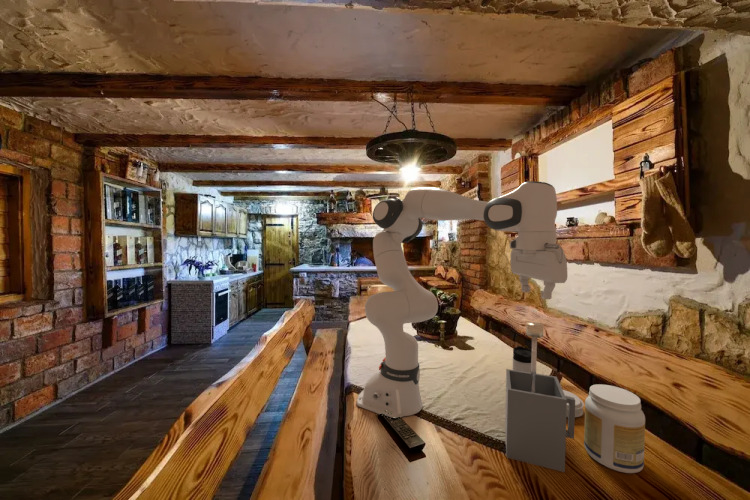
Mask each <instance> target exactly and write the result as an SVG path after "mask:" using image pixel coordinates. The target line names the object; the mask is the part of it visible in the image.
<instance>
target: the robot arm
mask: <svg viewBox="0 0 750 500" xmlns="http://www.w3.org/2000/svg"><path fill="white" fill-rule="evenodd" d="M557 202H558V200H557V191H556V189H555V186H553V184H551V183H548V182H544V181H543V182H542V181H535V180H534V181H533V180H531V181H525V182H523V183H521V184H520V185H519V186H518V187H517V188H515V189H514V190H512V191H510V192H508V193H506V194H503V195H501V196H499V197H495V198H493V199H490V200H489V201H485V200H484V201H483V200H479V199H478V200H477V199H473V198H470V197H467V196H465V195H462V194H460V193H457V192H454V191H450V190H448V189H444V188H438V187H431V186H430V187H429V186H428V187H424V186H423V187H416V188H412V189H410V190H408V192H407V193H406V194H405V196H404V198H403V199H401V198H400V197H398V196H395V197H393V198H386V199H383V200H381V201H379V202H378V203H377V204H376V205H375V207H374V209H373V211H372V220H373V222H374V223H375V224H376V225H377V226H378V227H379V228H380V229H383V230H382V231H380V232H378V233H377V234H376V235H374V237H373V239H372V251H373V252H372V253H373V258H374V262H375V267H376V272H377V276H378V279H379V281H380V282H381V283H382V284H383V285H385V286H387V287H388V288H390V289H392V290H394V291H382V292H378V293H375V294H370V295H369V296H368V298H367V299H366V301H365V304H364V314H365V316H366V318H367V320H368V322H369V323H370V324H371V325H373V326H375V327H376V328H377V329H378V330H379V332H380V334H381V336H382V338H383V341H384V349H385V353H384V358H383V359H382V362H381V363H380V365H379V366H378V372H377V373H375V374H373V375H372V376H370V377H369V378H368V380H367V381H366V383H365V385H364V388H363V390H362V391H360V392H359V394H358V395H357V398H356V405H357V407H359V408H363V409H365V410H368V411H371V412H373V413H376V414H377V415H380V414H381V413H383V414H386V415H388V416H391V417H400V418H402V417H408V416H412V415H416V414H418V413H419V412H420V411H421V410H422V409H423V405H424V404H423V400H422V397H421V392H420V391H421V390H420V382H419V381H420V379H421V377H420V375H421V373H420V372H421V371H420V363H419V343H418V340H417V339H416V337H415V336H413V335H412V334H410V333H408V332H406V331H405V330H404V325H405V324H414V323H422V322H426V321H429V320H431V319H434V318H435V317H436V314H437V313H438V311H439V310H438V309H439V303H438V299H437V297H436V296H435V294H434V293H433V292H432V291H430V290H428V289H426V288H424V287H423V286H422V285H421V284H420V283H419V282H418V281H417V280H416V279H415V277H414V276H413V274H412V273H411V271H410V269H409V267H408V266H409V265H408V263H407V260H406V257H405V254H404V251H403V247H402V244H407V243H409V242H410V241H412V240H414V239H415V238H417V237H418V236H419V235H420V233H421V232H422V230H423V226H424V225H423V221H422V219H425V220H430V221H438V222H439V221H443V222H444V221H456V220H458V221H459V220H477V221H483V222H484V223H485V224H486V226H487V227H489V228H490V229H491V230H494V231H498V232H513V233H517V234H518V236H516V237H515V238H514V239H513V240H510V242H509V249H511V252H510V270H511V272H512V274H514V275H517V276H519V277H518V278H519V283H520V285H521V291H522V292H523V293H530V292H531V285H530V284H529V279H534V280H539V281H542V282H543V286H544V288H543V290H542V291H540V294H541V295H540V298H542V299H544V300H551V299H552V298H553V297H552V295H553V291H554V290H555V287H556V284H565V283H566V282H567V280H568V263H567V256H566V253H565V252H564V248H562V246H561V245H560V244H559V243H557V228H556V227H557V226H556V218H557V215H558V203H557ZM384 410H387V411H386V412H385V411H384ZM389 412H391V413H392V414H388V413H389Z"/></svg>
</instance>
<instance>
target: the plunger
mask: <svg viewBox="0 0 750 500" xmlns="http://www.w3.org/2000/svg"><path fill="white" fill-rule="evenodd" d="M525 325H526V326H525V327H526V328H525V331H526V332H525V334H526V336H528V337H531V350H532V357H531V392H533V393H536V374H537V354H538V353H537V352H538V351H537V350H538V349H537V348H538V339H539V338H543V337H544V324H542V323H541V322H537V321H527V322H526V324H525Z"/></svg>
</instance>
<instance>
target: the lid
mask: <svg viewBox="0 0 750 500" xmlns="http://www.w3.org/2000/svg"><path fill="white" fill-rule="evenodd" d="M562 390H563V392H564V395H565V396H567V397H573V398H575V418H578V417H582V416H583V415H584V413H585V410H584V408H585V402H584V401H583V400H582V399H581V398H579V396H578V395H576V394H575V393H573V392H570V391H567V390H565V389H562ZM568 404H569V403H567V413H566V418H568Z"/></svg>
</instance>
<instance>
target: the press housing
mask: <svg viewBox="0 0 750 500" xmlns="http://www.w3.org/2000/svg"><path fill="white" fill-rule="evenodd" d="M505 371H506V372H505V411H504V413H505V416H504V417H505V418H504V429H505V430H504V434H505V435H506V437H505V455H506V459H507V458H508V459H512V460H515V461H518V462H523V463H527V464H531V465H534V466H539V467H542V468H547V469H550V470H554V471H558V472H562V473H566V470H565V469H566V444H567V443H566V441H567V439H566V438H568V439H573V440H574V439H575V426H576V425H575V423H576V422H575V421H576V420H575V419H576V417H575V398H573V397H567V396H565V395H564V392H563V390H564V389H563V388H562V386H561V383H560V380H559V378H558V377H557V376H553V375H548V374H541V373H536V393H533V392H531V373H529V372H523V371H516V370H513V369H508V368H506V370H505ZM567 403H569V404H568V417H566V413H567Z"/></svg>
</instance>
